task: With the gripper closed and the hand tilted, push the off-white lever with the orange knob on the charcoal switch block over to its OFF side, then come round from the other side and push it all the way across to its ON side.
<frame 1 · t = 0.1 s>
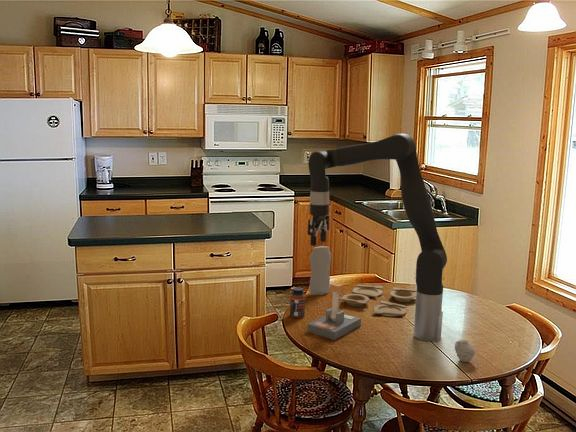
hand: (318, 243, 218), 29 cm above the table, tool pointing down, fingers open, 8 cm apart
tableware set: (378, 302, 240), on the table
breaker lever: (335, 302, 206), point 10 cm above the table, hinge at 0.0°
switch block: (334, 328, 208), on the table
tall pale column: (319, 294, 248), on the table
supplement bottle: (297, 316, 221), on the table
frog figurine: (463, 361, 183), on the table
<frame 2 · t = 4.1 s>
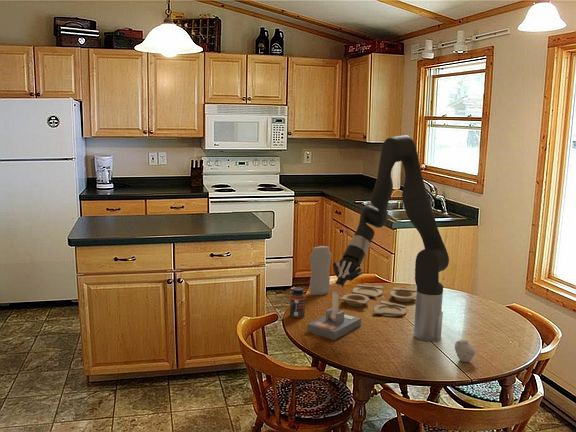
hand: (338, 287, 207), 16 cm above the table, tool tilted 45°, fingers closed
breaker lever: (335, 302, 206), point 10 cm above the table, hinge at -1.3°, touching gripper
everything else where it was.
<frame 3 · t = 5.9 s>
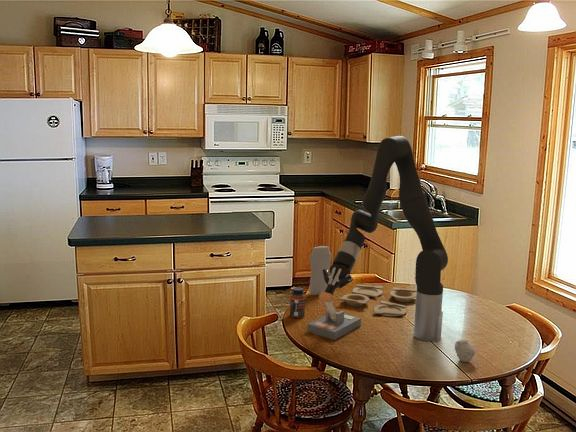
hand: (327, 295, 202), 14 cm above the table, tool tilted 45°, fingers closed
breaker lever: (330, 307, 204), point 9 cm above the table, hinge at -34.3°, touching gripper
everything else where it was.
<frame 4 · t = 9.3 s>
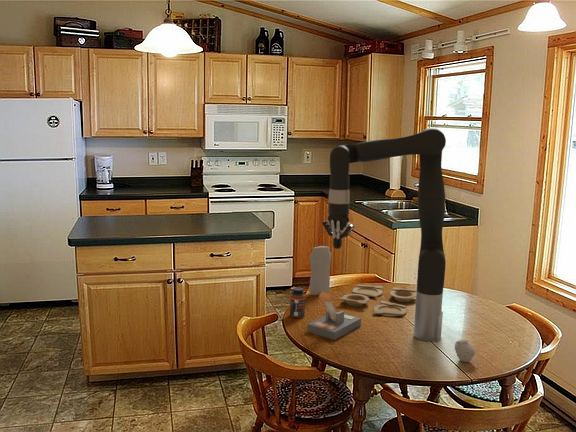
hand: (337, 248, 203), 31 cm above the table, tool pointing down, fingers closed
breaker lever: (330, 307, 204), point 9 cm above the table, hinge at -34.3°
everything else where it was.
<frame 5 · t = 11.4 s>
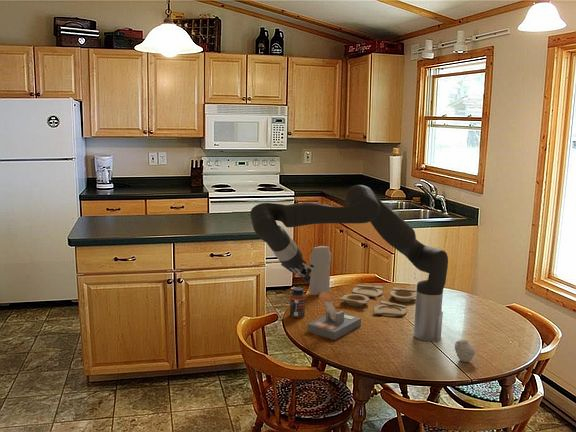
hand: (307, 279, 191), 23 cm above the table, tool tilted 45°, fingers closed
nothing on the table moved.
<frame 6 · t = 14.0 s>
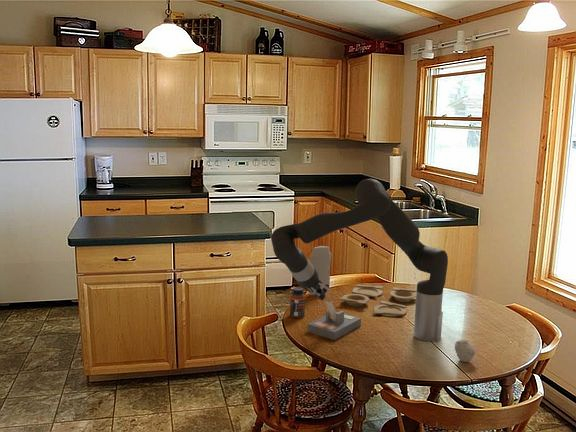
hand: (322, 297, 200), 14 cm above the table, tool tilted 45°, fingers closed
breaker lever: (330, 307, 204), point 9 cm above the table, hinge at -32.9°, touching gripper
everything else where it was.
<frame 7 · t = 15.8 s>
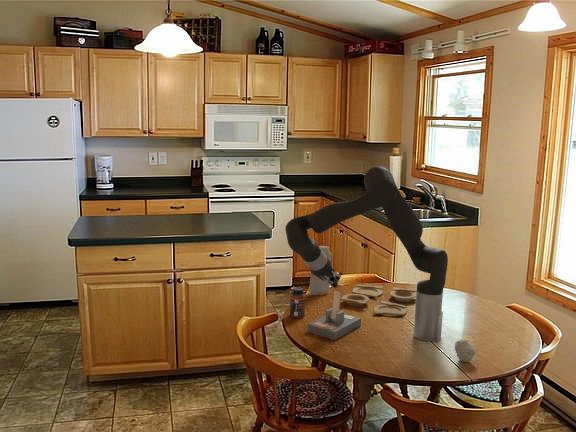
hand: (335, 285, 205), 17 cm above the table, tool tilted 45°, fingers closed
breaker lever: (336, 302, 207), point 10 cm above the table, hinge at 6.5°, touching gripper
everything else where it was.
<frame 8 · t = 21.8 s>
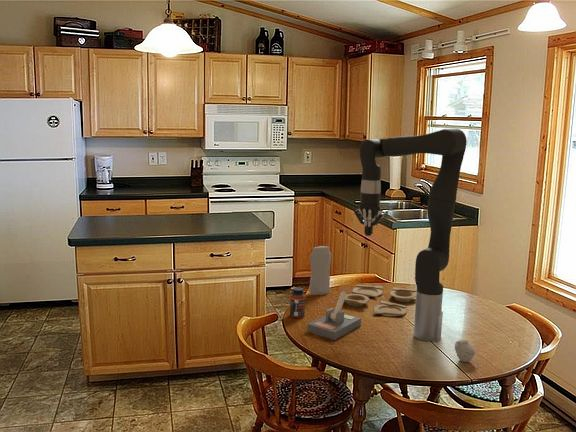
hand: (368, 235, 216), 33 cm above the table, tool pointing down, fingers closed
breaker lever: (340, 303, 209), point 9 cm above the table, hinge at 35.5°
everything else where it was.
at the end: breaker lever at +36° (first picture: +0°); supplement bottle moved 0.2 cm from its start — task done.
